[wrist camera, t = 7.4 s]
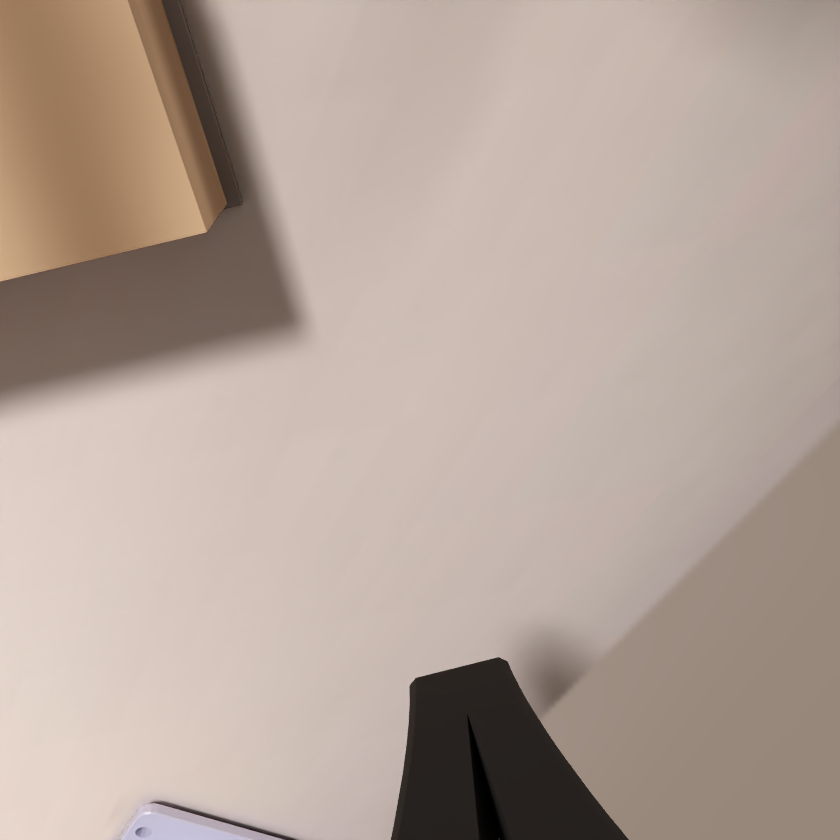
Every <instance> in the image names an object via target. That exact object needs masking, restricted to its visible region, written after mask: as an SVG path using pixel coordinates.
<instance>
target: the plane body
mask: <svg viewBox="0 0 840 840" xmlns="http://www.w3.org/2000/svg"><path fill="white" fill-rule="evenodd" d="M242 203H243V201H242V198H241V195H240V192H239V188H238V185H237V182H236V179H235V176H234V172H233V169H232V166H231V163H230V160H229V156H228V153H227V150H226V147H225V144H224V140H223V137H222V134H221V131H220V128H219V124H218V121H217V118H216V115H215V112H214V108H213V105H212V102H211V99H210V96H209V92H208V89H207V86H206V83H205V80H204V76H203V73H202V70H201V67H200V64H199V60H198V57H197V54H196V51H195V48H194V44H193V41H192V38H191V35H190V32H189V28H188V25H187V22H186V19H185V16H184V12H183V9H182V6H181V3H180V0H0V281H4V280H9V279H13V278H17V277H21V276H25V275H30V274H34V273H38V272H42V271H46V270H51V269H55V268H59V267H63V266H67V265H72V264H76V263H80V262H84V261H88V260H93V259H97V258H101V257H105V256H109V255H114V254H118V253H122V252H126V251H130V250H135V249H139V248H143V247H147V246H152V245H156V244H160V243H164V242H168V241H173V240H177V239H181V238H185V237H189V236H194V235H198V234H202V233H206V232H207V231H208V230H209V229H210V227H211V226H212V224H213V223H214V221H215V220H216V219H217V217H218V216H219V214H220V213H221V211H222V210H223V209H226V208H230V207H235V206H239V205H242Z"/></svg>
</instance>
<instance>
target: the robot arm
mask: <svg viewBox="0 0 840 840" xmlns="http://www.w3.org/2000/svg"><path fill="white" fill-rule="evenodd" d="M117 840H284V839H280V838H277V837H273V836H270V835H266V834H263V833H259V832H256V831H252V830H249V829H245V828H241V827H238V826H234V825H231V824H227V823H224V822H220V821H217V820H213V819H210V818H206V817H203V816H199V815H196V814H192V813H189V812H185V811H182V810H178V809H175V808H171V807H168V806H164V805H161V804H156V803H149V804H145V805H143V806H141V807H140V808H139V809H138V810H137V811H136V813H135V814H134V816H133V817H132V819H131V820H130V822H129V823H128V825H127V826H126V827H125V829H124V830H123V832H122V833H121V835H120V836H119V838H118V839H117ZM391 840H628V838H627V837H626V836H625V835H624V834H623V832H622V831H621V830H620V829H619V827H618V826H617V825H616V824H615V823H614V821H613V820H612V819H611V818H610V817H609V815H608V814H607V813H606V812H605V810H604V809H603V808H602V806H601V805H600V804H599V803H598V801H597V800H596V799H595V798H594V796H593V795H592V794H591V792H590V791H589V790H588V788H587V787H586V786H585V784H584V783H583V782H582V781H581V779H580V778H579V776H578V775H577V774H576V772H575V771H574V770H573V768H572V767H571V765H570V764H569V763H568V761H567V760H566V759H565V757H564V756H563V755H562V753H561V752H560V750H559V749H558V748H557V746H556V745H555V743H554V742H553V740H552V739H551V737H550V736H549V734H548V733H547V731H546V730H545V728H544V727H543V725H542V724H541V722H540V720H539V719H538V717H537V716H536V714H535V713H534V711H533V709H532V708H531V706H530V704H529V703H528V701H527V699H526V698H525V696H524V694H523V692H522V691H521V689H520V687H519V685H518V683H517V681H516V679H515V677H514V675H513V673H512V671H511V669H510V666H509V664H508V662H507V661H505V660H503V659H501V658H499V657H498V658H494V659H490V660H486V661H482V662H478V663H474V664H470V665H466V666H462V667H458V668H454V669H450V670H446V671H442V672H438V673H434V674H430V675H426V676H422V677H418V678H415V680H414V681H413V682H412V683H411V685H410V710H409V727H408V737H407V746H406V754H405V762H404V770H403V776H402V782H401V788H400V793H399V799H398V805H397V811H396V816H395V822H394V827H393V832H392V837H391Z"/></svg>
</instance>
